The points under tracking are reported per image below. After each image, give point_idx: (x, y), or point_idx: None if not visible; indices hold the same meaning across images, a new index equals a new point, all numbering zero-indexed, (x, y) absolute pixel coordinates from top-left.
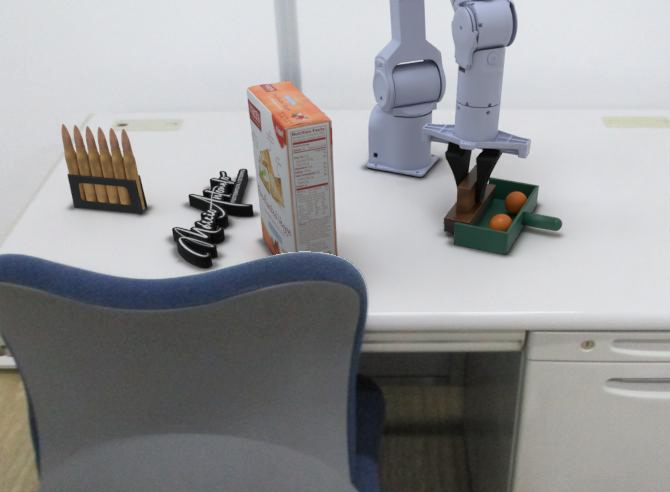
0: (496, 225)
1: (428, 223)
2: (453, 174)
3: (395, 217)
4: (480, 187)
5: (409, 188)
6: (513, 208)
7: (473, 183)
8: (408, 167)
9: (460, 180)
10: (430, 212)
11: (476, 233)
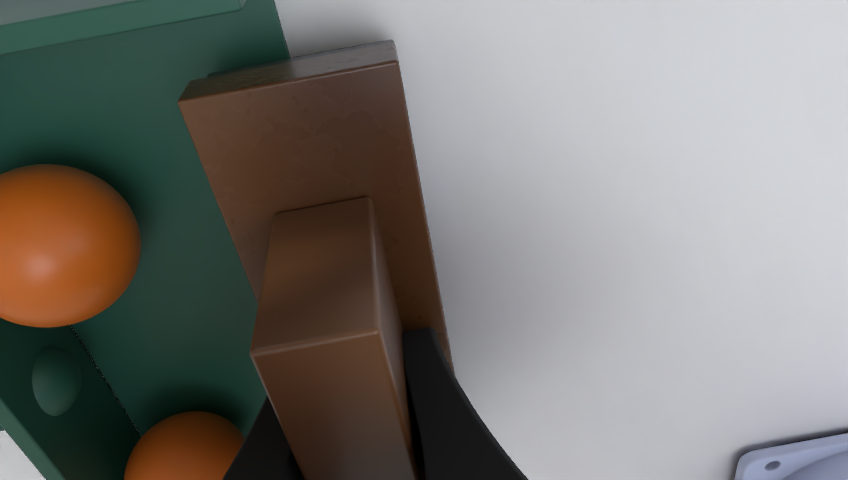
0: (18, 201)
1: (550, 117)
2: (503, 455)
3: (771, 71)
4: (255, 441)
5: (770, 363)
6: (167, 433)
7: (294, 442)
8: (825, 473)
9: (431, 432)
10: (590, 231)
11: (39, 7)
